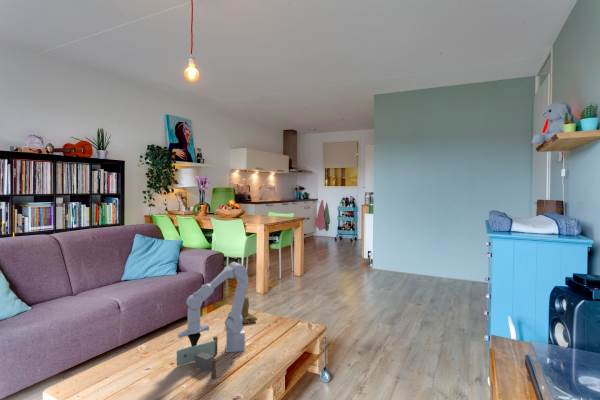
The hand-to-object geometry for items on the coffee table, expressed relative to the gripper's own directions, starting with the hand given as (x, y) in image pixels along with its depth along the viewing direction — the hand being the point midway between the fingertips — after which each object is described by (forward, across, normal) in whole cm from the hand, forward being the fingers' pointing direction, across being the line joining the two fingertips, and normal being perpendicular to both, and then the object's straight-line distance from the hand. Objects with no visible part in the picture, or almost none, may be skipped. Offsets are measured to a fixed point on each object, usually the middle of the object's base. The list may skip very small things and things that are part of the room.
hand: (193, 348), depth 156 cm
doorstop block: (+6, -1, +10) cm, 12 cm away
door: (+5, -1, +2) cm, 5 cm away
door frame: (+5, -6, +10) cm, 13 cm away
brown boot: (+6, -43, -27) cm, 51 cm away
